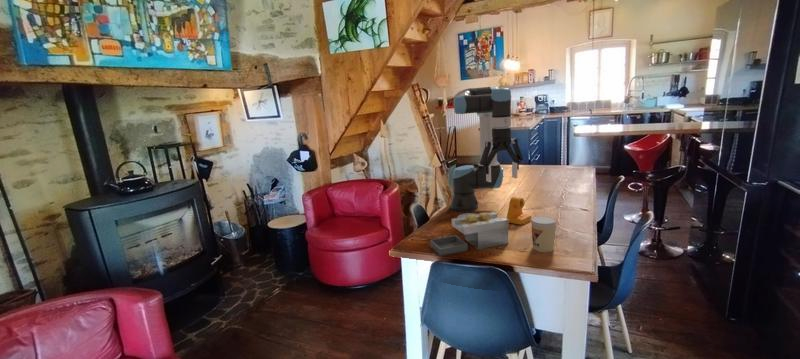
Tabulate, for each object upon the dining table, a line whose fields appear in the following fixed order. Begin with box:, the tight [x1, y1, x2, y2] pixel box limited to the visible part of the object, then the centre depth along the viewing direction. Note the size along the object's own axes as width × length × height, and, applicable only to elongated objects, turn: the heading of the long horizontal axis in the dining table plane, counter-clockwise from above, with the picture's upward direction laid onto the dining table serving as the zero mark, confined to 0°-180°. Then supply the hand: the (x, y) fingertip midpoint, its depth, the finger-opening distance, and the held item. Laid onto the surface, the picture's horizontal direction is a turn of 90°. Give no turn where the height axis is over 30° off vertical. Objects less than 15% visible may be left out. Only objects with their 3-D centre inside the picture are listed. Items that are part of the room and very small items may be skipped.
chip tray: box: [429, 234, 469, 257], centre depth 156 cm, size 11×12×3 cm
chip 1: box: [466, 213, 478, 224], centre depth 157 cm, size 4×4×4 cm
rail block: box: [451, 211, 509, 250], centre depth 159 cm, size 12×20×10 cm, turn 107°
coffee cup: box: [530, 215, 557, 253], centre depth 149 cm, size 9×9×12 cm
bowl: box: [456, 212, 479, 218], centre depth 175 cm, size 11×12×6 cm
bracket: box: [506, 196, 532, 226], centre depth 181 cm, size 11×7×12 cm, turn 132°
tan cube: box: [478, 211, 491, 222], centre depth 158 cm, size 4×4×4 cm
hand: (501, 179), depth 157 cm, fingers open, 12 cm apart
